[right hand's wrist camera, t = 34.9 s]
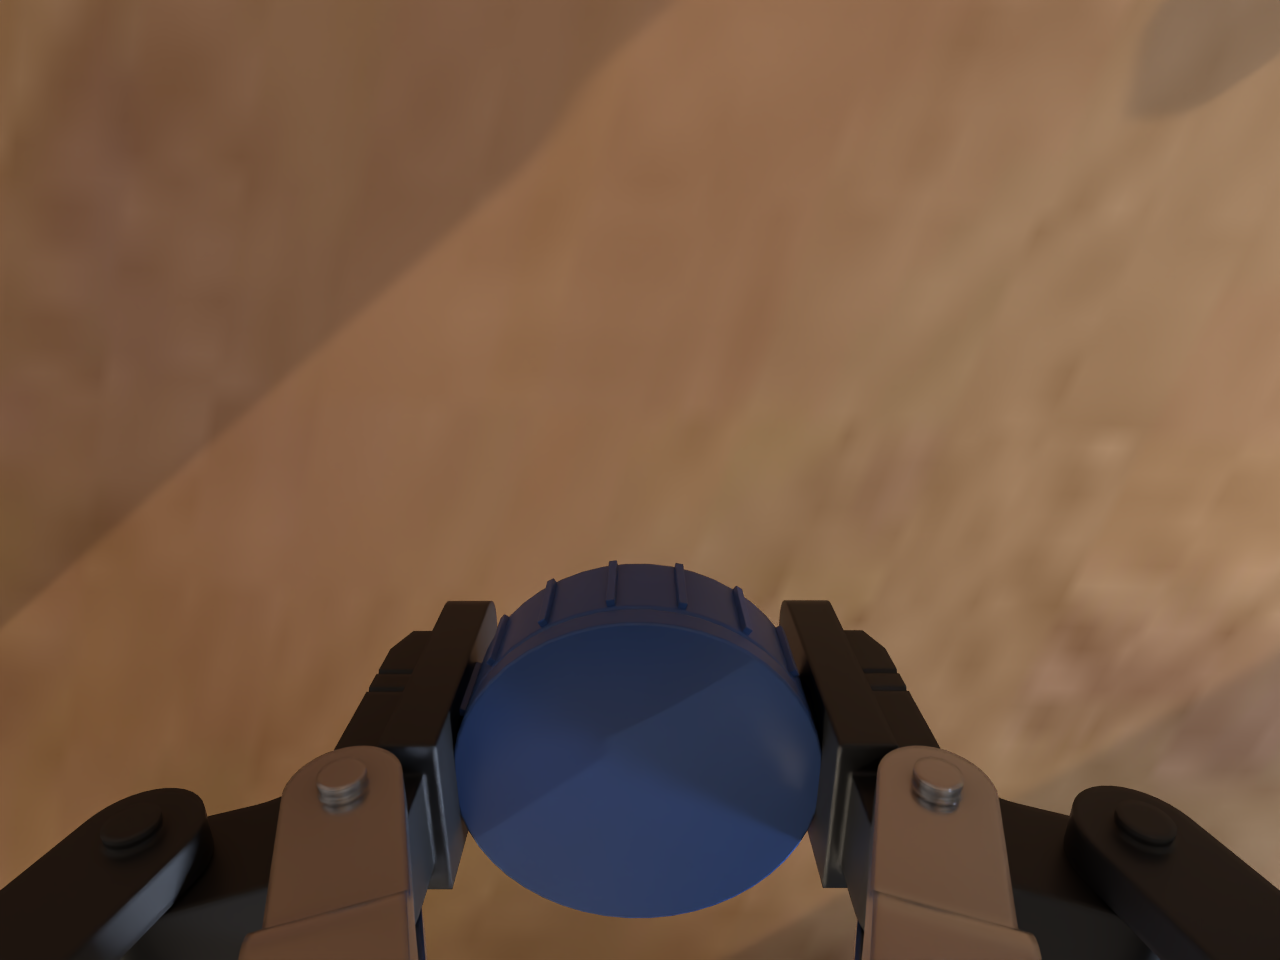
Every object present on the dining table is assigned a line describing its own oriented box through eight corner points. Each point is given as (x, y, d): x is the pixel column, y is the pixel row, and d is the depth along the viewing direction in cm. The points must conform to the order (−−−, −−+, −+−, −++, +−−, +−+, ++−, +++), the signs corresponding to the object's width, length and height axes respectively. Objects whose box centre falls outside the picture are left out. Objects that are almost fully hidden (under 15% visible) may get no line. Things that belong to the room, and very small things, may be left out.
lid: (438, 787, 12) (408, 874, 10) (521, 512, 10) (500, 567, 8) (731, 862, 12) (744, 956, 11) (856, 613, 10) (892, 683, 9)
